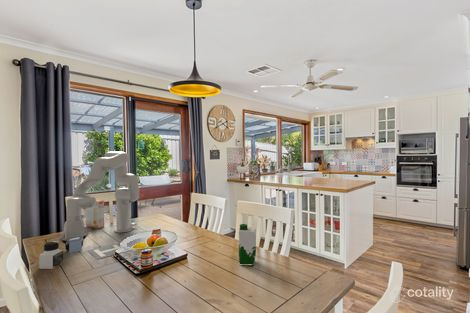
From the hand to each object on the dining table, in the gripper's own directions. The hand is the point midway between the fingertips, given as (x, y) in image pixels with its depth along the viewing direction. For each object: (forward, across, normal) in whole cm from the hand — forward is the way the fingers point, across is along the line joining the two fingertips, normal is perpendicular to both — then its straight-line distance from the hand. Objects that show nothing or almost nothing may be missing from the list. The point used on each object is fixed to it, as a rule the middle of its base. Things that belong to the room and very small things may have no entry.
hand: (74, 248), depth 148 cm
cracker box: (+1, -24, -42) cm, 48 cm away
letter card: (+1, -14, +16) cm, 21 cm away
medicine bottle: (+1, +14, +16) cm, 21 cm away
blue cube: (+1, 0, 0) cm, 1 cm away
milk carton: (+1, -59, +84) cm, 103 cm away
